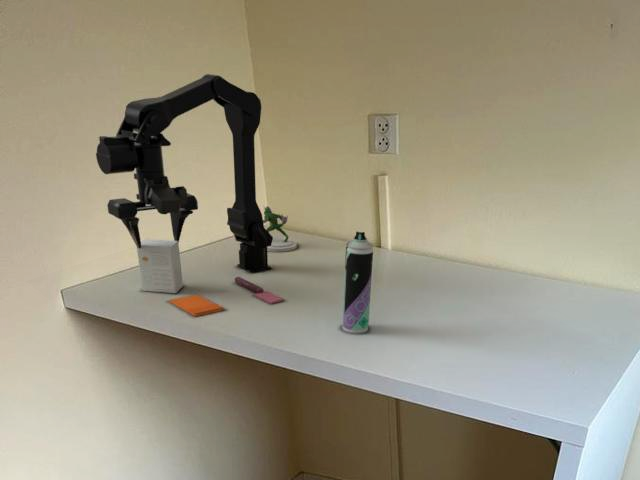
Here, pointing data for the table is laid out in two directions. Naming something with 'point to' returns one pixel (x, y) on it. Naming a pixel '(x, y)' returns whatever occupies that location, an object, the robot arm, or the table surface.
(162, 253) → the small box
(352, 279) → the spray can
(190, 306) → the orange flat block
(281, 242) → the monster figurine
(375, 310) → the table surface
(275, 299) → the spatula
